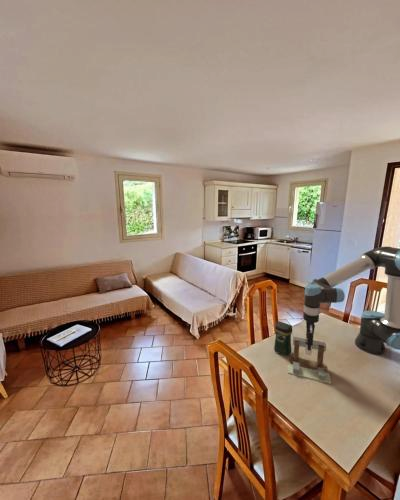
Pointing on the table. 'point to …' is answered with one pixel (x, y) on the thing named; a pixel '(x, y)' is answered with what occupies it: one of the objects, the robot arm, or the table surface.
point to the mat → (309, 373)
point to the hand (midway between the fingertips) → (308, 352)
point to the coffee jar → (283, 338)
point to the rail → (304, 341)
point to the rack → (308, 362)
